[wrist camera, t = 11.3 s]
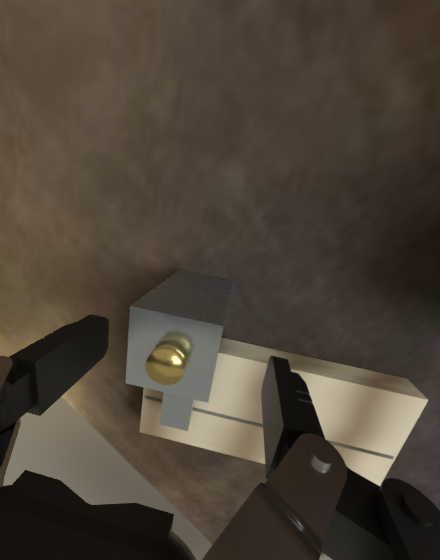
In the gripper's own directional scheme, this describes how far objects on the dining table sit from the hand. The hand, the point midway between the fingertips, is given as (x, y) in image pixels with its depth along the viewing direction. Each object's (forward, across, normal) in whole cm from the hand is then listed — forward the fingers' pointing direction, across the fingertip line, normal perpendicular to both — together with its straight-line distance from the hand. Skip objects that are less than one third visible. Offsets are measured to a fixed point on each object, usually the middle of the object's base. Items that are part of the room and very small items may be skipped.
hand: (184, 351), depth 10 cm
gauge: (+6, +1, +3) cm, 7 cm away
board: (+6, -6, +7) cm, 11 cm away
